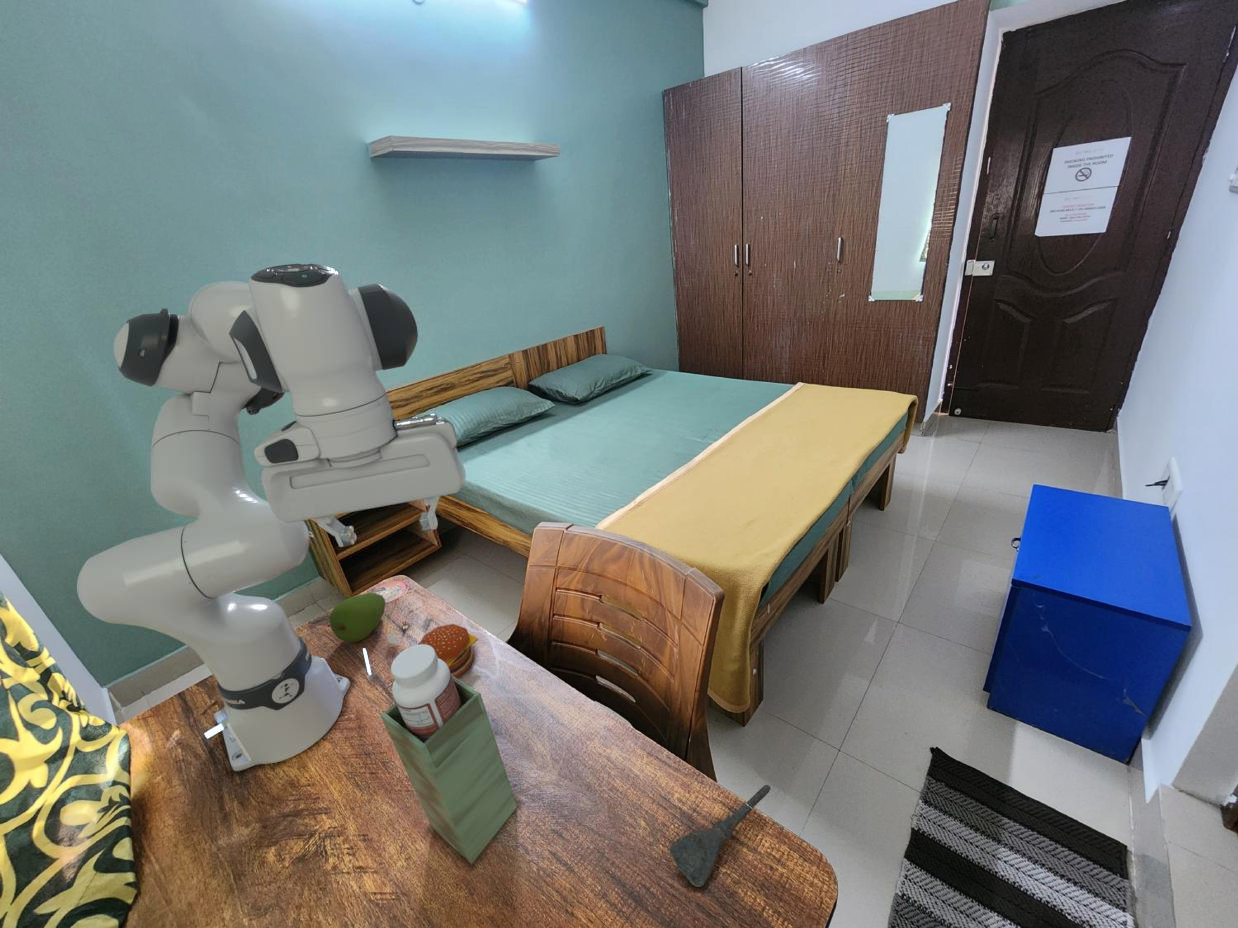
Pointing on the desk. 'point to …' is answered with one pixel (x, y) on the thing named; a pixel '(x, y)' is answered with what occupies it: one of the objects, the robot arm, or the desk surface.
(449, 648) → the hamburger
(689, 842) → the artifact
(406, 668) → the pill bottle
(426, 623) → the figurine
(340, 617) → the green mango
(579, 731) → the desk surface
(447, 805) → the holder
